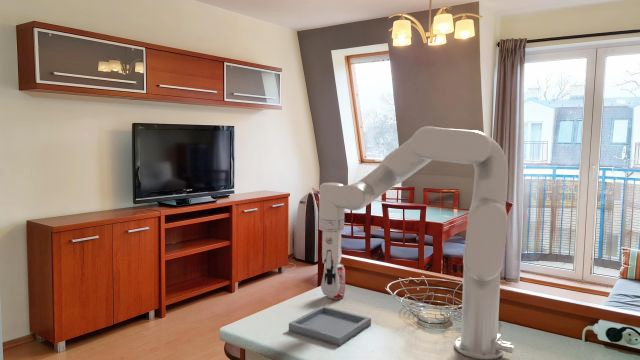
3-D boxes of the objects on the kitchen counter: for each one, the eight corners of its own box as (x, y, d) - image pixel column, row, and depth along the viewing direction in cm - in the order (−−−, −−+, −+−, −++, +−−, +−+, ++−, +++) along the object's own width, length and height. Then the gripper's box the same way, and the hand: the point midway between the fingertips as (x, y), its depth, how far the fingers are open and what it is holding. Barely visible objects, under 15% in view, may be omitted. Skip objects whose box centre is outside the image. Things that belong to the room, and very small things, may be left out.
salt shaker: (318, 296, 141) (318, 253, 139) (323, 290, 146) (324, 249, 145) (337, 298, 139) (338, 255, 138) (342, 292, 144) (342, 250, 143)
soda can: (345, 294, 174) (345, 262, 173) (344, 301, 167) (344, 267, 166) (326, 293, 175) (326, 261, 174) (324, 300, 168) (324, 267, 167)
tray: (370, 325, 146) (371, 318, 146) (339, 346, 131) (339, 338, 131) (322, 312, 156) (323, 305, 156) (288, 330, 141) (288, 323, 141)
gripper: (341, 230, 132) (340, 294, 134) (346, 219, 148) (345, 277, 150) (314, 229, 133) (314, 292, 135) (322, 219, 149) (322, 275, 151)
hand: (330, 283), depth 142 cm, fingers closed on salt shaker, 3 cm apart
